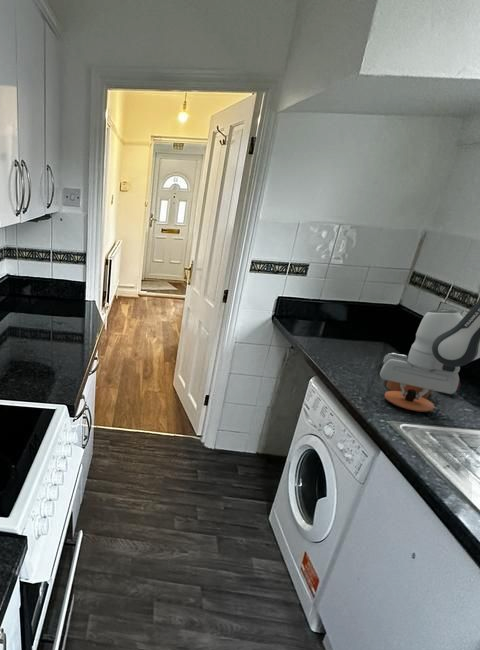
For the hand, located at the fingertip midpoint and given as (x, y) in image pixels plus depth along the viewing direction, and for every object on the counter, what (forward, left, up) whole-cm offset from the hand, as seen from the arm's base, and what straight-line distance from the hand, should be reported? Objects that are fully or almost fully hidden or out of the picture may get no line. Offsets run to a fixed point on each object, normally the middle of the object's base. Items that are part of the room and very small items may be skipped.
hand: (410, 397), depth 137 cm
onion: (-13, -22, -3) cm, 25 cm away
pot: (-1, -14, -3) cm, 14 cm away
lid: (0, 0, -2) cm, 2 cm away
